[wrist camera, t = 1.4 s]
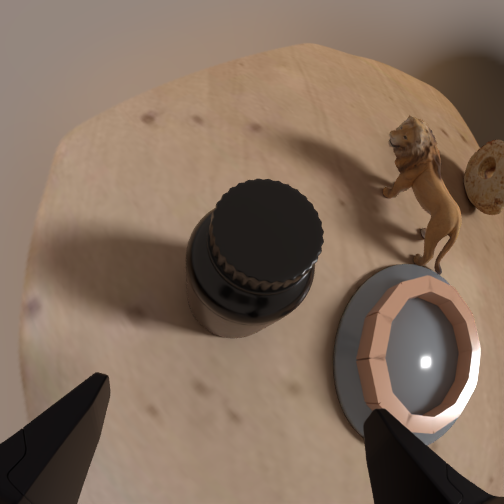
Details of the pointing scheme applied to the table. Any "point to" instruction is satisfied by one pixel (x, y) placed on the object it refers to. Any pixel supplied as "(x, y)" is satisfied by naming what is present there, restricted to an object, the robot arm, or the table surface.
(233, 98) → the table surface
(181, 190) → the table surface
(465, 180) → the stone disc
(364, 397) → the ring tray
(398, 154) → the lion figurine
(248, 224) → the supplement bottle
